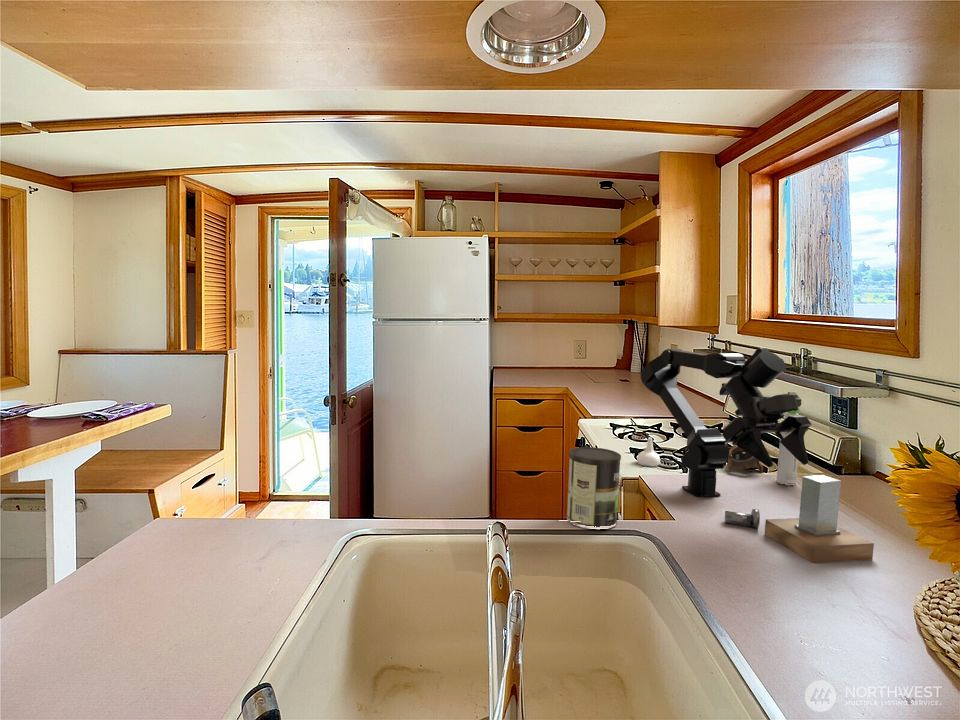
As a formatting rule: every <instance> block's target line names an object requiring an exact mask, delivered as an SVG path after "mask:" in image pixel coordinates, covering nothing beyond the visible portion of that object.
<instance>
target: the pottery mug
mask: <svg viewBox="0 0 960 720" xmlns="http://www.w3.org/2000/svg"><path fill="white" fill-rule="evenodd" d="M729 449H730V450H729V457H728V459H727V462H726V469H727V471H729V472H731V471H732V470H749V469H751V467H754V468H753V469H756V468H757V470H758V471H759V470H760V471H759V472H760V473H762V472H764V466H763V464H762V462H761V463H760V461H759V460H758V459H756V458H755V457H753V456H752V455H750V454H749V453H747V452H746V451H744V450H743V449H741V448H739V447H738V446H734V445H732V446H730V447H729Z"/></svg>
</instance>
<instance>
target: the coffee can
mask: <svg viewBox="0 0 960 720" xmlns="http://www.w3.org/2000/svg"><path fill="white" fill-rule="evenodd" d="M568 455H569V461H568V462H569V463H568V464H569V465H568V489H567V507H566V510H567V511H566V520H567V522H569V521H581V522H569V523H570V524H571V523H572V524H571V525H573V524H575V525H585V526H594V527H595V526H596V527H600V526H611V525H614V524H616V522H617V523H618V507H619V506H618V505H619V502H618V501H619V488H620V487H619V486H620V469H621V460H622V455H621V454H620V453H619V452H617V451H615V450H611V449H607V448H604V447H603V448H601V447H591V446H590V447H589V446H582V447H574V448H571V449H570V450H569V452H568ZM575 525H574V526H575Z"/></svg>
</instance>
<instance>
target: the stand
mask: <svg viewBox="0 0 960 720" xmlns="http://www.w3.org/2000/svg"><path fill="white" fill-rule="evenodd" d="M764 523H765V524H764V532H763V533H764V535H765V536H767V537H768V538H770V539H772V540H774V541H775V542H777V543H779V544H780V545H783V546H784V547H786V548H787V549H789V550H791V551H792V552H794V553H795V554H798V555H799V556H801V557H803V558H805V559H806V560H808V561H810V562H811V563H813V564H819V563H821V564H823V563H836V562H837V563H838V562H839V563H840V562H853V561H854V562H855V561H857V562H858V561H872V560H873V558H874V557H873V556H874V555H873V554H874V548H875V547H874V546H875V543H874V542H872V541H870V540H868V539H865V538H863V537H861V536H859V535H857V534H855V533H853V532H851V531H848V530H846V528H845V529H844V528H842V527H840V526H839V525H837V530H838V531H840V534H837V535H829V536H821V537H814V536H812V535H810V534H808V533H805V532H803V531H801V530H799V529H797V528H794V526H795V525H799V517H794V518H793V517H791V518H766V519H765V522H764Z"/></svg>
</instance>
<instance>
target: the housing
mask: <svg viewBox="0 0 960 720" xmlns="http://www.w3.org/2000/svg"><path fill="white" fill-rule="evenodd" d="M801 483H802V484H801V493H800V494H801V495H800V506H799V515H798V516H799V517H798V518H799V525H795V526H794V528H797V529H799V530H801V531H803V532H805V533H808V534H810V535H812V536H814V537H821V536H829V535H837V534H840V531H838V530H837V526H838V519H839V518H838V517H839V507H840V499H841V498H840V496H841V485H842V480H839V479H837V478H833V477H831V476H827V475H825V474H816V475H804V476H802V481H801Z"/></svg>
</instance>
